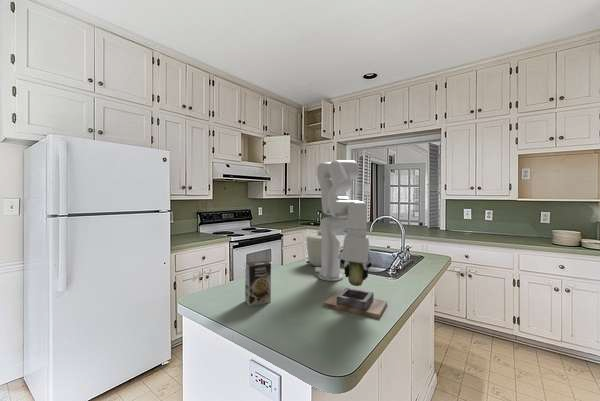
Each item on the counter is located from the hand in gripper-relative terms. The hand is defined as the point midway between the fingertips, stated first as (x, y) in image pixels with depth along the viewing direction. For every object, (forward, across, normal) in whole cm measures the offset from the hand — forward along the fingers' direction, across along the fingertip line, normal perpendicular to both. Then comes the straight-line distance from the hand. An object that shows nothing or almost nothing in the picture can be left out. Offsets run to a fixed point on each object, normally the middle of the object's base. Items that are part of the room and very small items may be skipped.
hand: (356, 277), depth 114 cm
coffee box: (+12, -36, -16) cm, 41 cm away
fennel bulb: (+3, 0, 0) cm, 3 cm away
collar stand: (+11, 0, 0) cm, 11 cm away
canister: (+11, -37, +48) cm, 62 cm away
